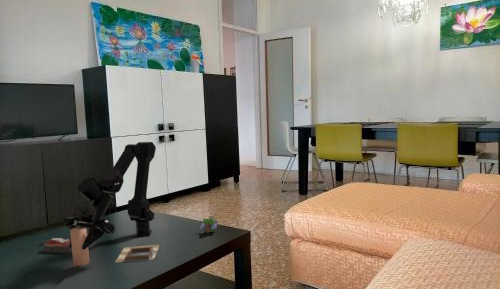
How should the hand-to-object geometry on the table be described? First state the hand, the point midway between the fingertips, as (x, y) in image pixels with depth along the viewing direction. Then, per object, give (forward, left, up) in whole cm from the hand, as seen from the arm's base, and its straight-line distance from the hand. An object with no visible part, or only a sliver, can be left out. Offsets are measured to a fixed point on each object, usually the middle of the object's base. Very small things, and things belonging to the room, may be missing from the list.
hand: (76, 248), depth 125 cm
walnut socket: (-3, +20, -6) cm, 21 cm away
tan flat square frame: (-6, +19, -7) cm, 21 cm away
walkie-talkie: (-22, -16, -7) cm, 28 cm away
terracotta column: (-1, +1, -7) cm, 7 cm away
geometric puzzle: (-26, +44, -7) cm, 51 cm away
